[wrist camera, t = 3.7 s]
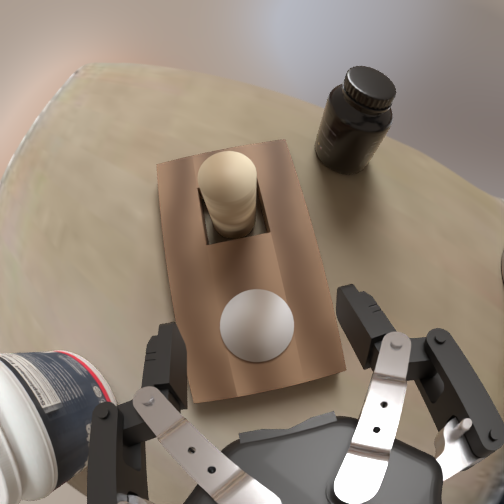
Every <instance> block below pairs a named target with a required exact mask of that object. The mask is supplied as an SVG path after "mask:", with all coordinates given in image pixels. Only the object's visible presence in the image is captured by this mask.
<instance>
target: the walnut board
mask: <svg viewBox="0 0 504 504" xmlns="http://www.w3.org/2000/svg"><path fill="white" fill-rule="evenodd" d="M223 151H234V152H239V153H241V154H243V155H245V156H247V157H248V158H249V159H250V160H251V161H252V162H253V164H254V166H255V168H256V172H257V183H256V188H257V192H258V196H259V200H260V204H261V208H262V212H263V216H264V221H265V225H266V229H267V233H265V234H260V235H255V236H250V237H245V238H240V239H235V240H230V241H225V242H220V243H215V244H211V245H209V242H208V236H207V230H206V224H205V218H204V212H203V206H202V200H201V198H203V195H202V193H201V190H200V187H199V184H198V172H199V169H200V167H201V165H202V164H203V162H204V161H205V160H206V159H207V158H209V157H210V156H212V155H214V154H216V153H219V152H223ZM157 179H158V192H159V204H160V214H161V224H162V233H163V241H164V249H165V257H166V264H167V271H168V278H169V284H170V291H171V297H172V303H173V308H174V314H175V320H176V325H177V327H178V329H179V331H180V333H181V336H182V338H183V340H184V342H185V345H186V349H187V377H188V381H189V385H190V389H191V393H192V397H193V401H194V403H201V402H208V401H215V400H222V399H228V398H234V397H240V396H246V395H251V394H256V393H261V392H266V391H271V390H275V389H280V388H284V387H288V386H292V385H296V384H300V383H304V382H308V381H312V380H315V379H319V378H322V377H326V376H329V375H333V374H336V373H339V372H342V371H346V365H345V360H344V355H343V350H342V345H341V340H340V336H339V331H338V326H337V322H336V317H335V313H334V308H333V304H332V300H331V296H330V291H329V287H328V283H327V279H326V275H325V271H324V267H323V263H322V260H321V256H320V252H319V248H318V245H317V241H316V237H315V234H314V230H313V226H312V223H311V219H310V216H309V213H308V209H307V206H306V202H305V199H304V196H303V193H302V189H301V186H300V183H299V180H298V176H297V173H296V170H295V167H294V164H293V161H292V158H291V155H290V152H289V149H288V146H287V143H286V140H285V139H283V140H275V141H269V142H262V143H256V144H250V145H244V146H238V147H233V148H227V149H222V150H217V151H212V152H207V153H202V154H198V155H193V156H189V157H185V158H180V159H176V160H172V161H168V162H164V163H160V164H157Z"/></svg>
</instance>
